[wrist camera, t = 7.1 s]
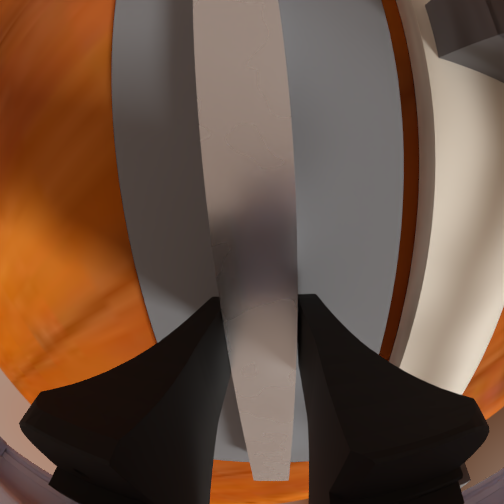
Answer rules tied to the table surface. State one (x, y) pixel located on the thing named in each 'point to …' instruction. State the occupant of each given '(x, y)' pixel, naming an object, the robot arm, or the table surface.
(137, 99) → the mat
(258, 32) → the rail
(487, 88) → the hook stand
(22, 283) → the table surface
